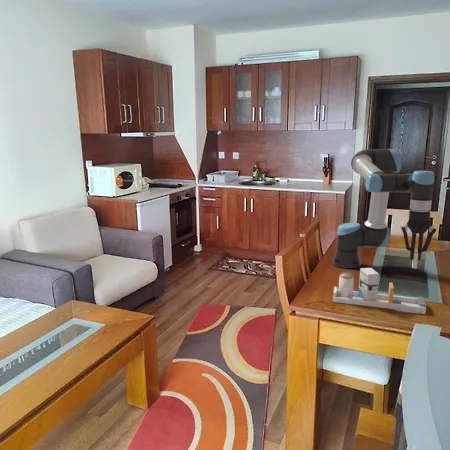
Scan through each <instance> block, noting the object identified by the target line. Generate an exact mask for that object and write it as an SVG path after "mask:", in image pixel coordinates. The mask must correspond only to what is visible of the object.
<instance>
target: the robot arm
mask: <svg viewBox="0 0 450 450" xmlns="http://www.w3.org/2000/svg"><path fill="white" fill-rule="evenodd" d="M350 166H351V168H352V170H353V171H354V173H356V174H359V175H360V176H361V177H362V178H363V179H364V180H365V185H364V186H365V190H366V192H369V193H371V194H370V200H369V206H368V207H369V209H368V216H367V220H365V221H364V222H363V225H361V224H360V223H358V222H344V223H342V224H340V225H339V226H337V231H336V232H337V233H336V234H337V236H336V251H335V254H334V256H333V258H332V265H333V264H334V265H335V266H334V265H333V266H334V267H336V266H338V267H337V268H340V267H342V268H341V269H345V268H355V269H359V268H361V267H362V266H361V265H362V260H361V257H360V253H359V248H384V247H386V246H387V244H388V242H389V240H390V235H391V234H390V233H391V232H390V231H391V230H390V228H389V226H388V224H387V223H386V215H387V208H388V202H389V196H390V193H410V201H409V209H410V210H409V211H408V212H409V213H408V219H407V220H408V221H407V222H406V224H405V225H402V226H400V229H401V231H402V233H403V238H404V245H405V249H406V251H409V252H410V253H409V254H410V255H409V259H410V260H411V261H412V262H411V268H412V269H418V261H421V259H422V253H425V252H427V251H428V249H429V246H430V245H431V240H432V238H433V235H434V234H435V233H436V232H437V229H436V228H435V227H433V226H431V223H430V221H431V210H432V202H433V201H432V200H433V191H434V184H435V173H434V171H432V170H431V171H429V170H416V171H415V170H414V171H413V173H401V174H400V171H401V169H402V158H401V154H400V152H399V150H397V149H394V148H381V149H380V148H377V149H376V148H375V149H374V148H372V149H371V148H367V149H362V150H360V151H358V152H357V153H355V154H354V155H353V156H352V158H351V160H350ZM396 173H397V174H396ZM408 230H409V231H410V232H411V240H410V243H409V237H408V232H407V231H408ZM427 231H428V234H427V236H426V238H425V241H424V234H425V233H426V232H427ZM417 234H418V239H417ZM416 239H417V240H418V241H417V250H415V249H416ZM423 241H424V244H423ZM358 267H359V268H358Z"/></svg>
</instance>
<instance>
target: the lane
mask: <svg viewBox="0 0 450 450" xmlns="http://www.w3.org/2000/svg"><path fill="white" fill-rule="evenodd" d="M338 292H339V288H338V286H334V287H333V293H332V294H333V295H332V302H333V303H337V304H338V303H339V304H348V305H357V306H363V307H365V306H366V307H374V308H382V309H390V310H395V311H396V312H403V313H411V314H413V313H414V314H420V313H421V314H422V315H426V311H427V307H426V306H427V304H426V302H425V299H424V297H423V296H417V297H412V296H402V295H394V294H393V300H401V304H395V303H388V294H386V293H385V294H384V293H378V294H377V300H369V301H366V300H365V299H364V298H363V297H362V296H361V295H360V294H359V293H358V292H359V290H358V291H355V290H353V299H352V298H343V297H338ZM421 314H420V315H421Z"/></svg>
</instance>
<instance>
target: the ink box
mask: <svg viewBox="0 0 450 450" xmlns="http://www.w3.org/2000/svg"><path fill="white" fill-rule="evenodd" d="M359 269H360V270H359V280H358V293H359V294H360V295H361V296H362V297H363V298H364V299H365V300H366V301H369V300H377V294H379V292H378V291H379V279H380V274H379V272H377V271H376V270H375V269H373V268H372V267H359Z"/></svg>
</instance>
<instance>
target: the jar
mask: <svg viewBox="0 0 450 450" xmlns="http://www.w3.org/2000/svg"><path fill="white" fill-rule="evenodd" d="M338 278H339V279H338V289H339V292H338V297H343V298H352V299H353V291H354V283H355V282H354V281H355V277H354V275H353V273H350V272H341V273H340V275H339V277H338Z"/></svg>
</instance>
